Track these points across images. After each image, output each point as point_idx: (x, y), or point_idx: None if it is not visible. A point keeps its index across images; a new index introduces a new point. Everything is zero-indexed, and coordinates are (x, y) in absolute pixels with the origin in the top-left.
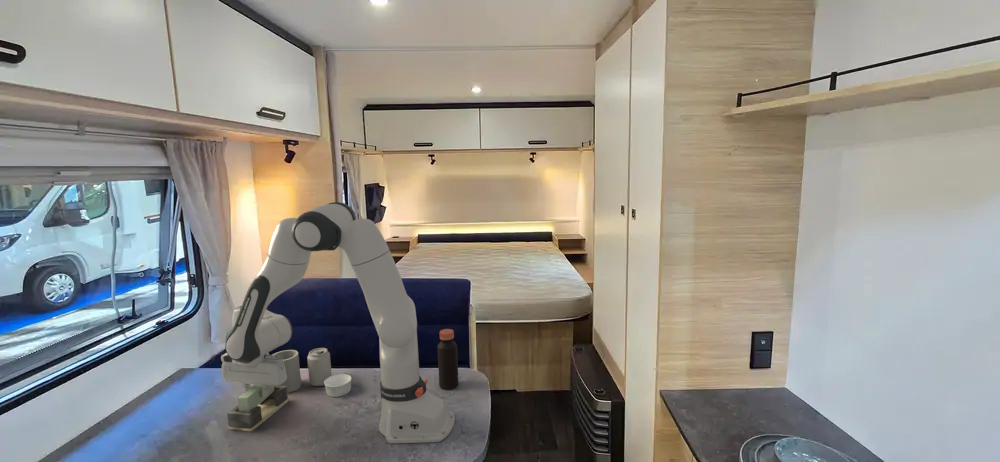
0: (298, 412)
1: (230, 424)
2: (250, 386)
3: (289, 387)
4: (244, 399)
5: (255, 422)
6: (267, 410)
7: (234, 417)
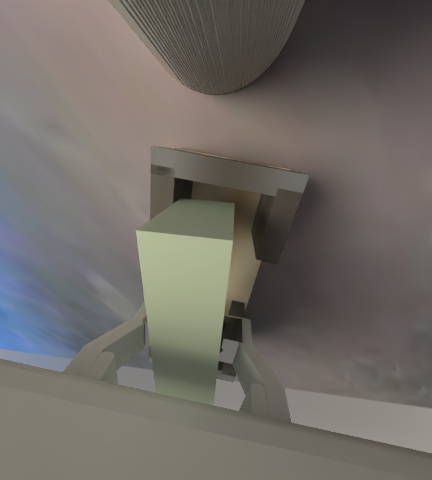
0: (354, 259)
1: None
2: (132, 334)
3: (266, 57)
4: None
5: None
6: (236, 257)
7: None
